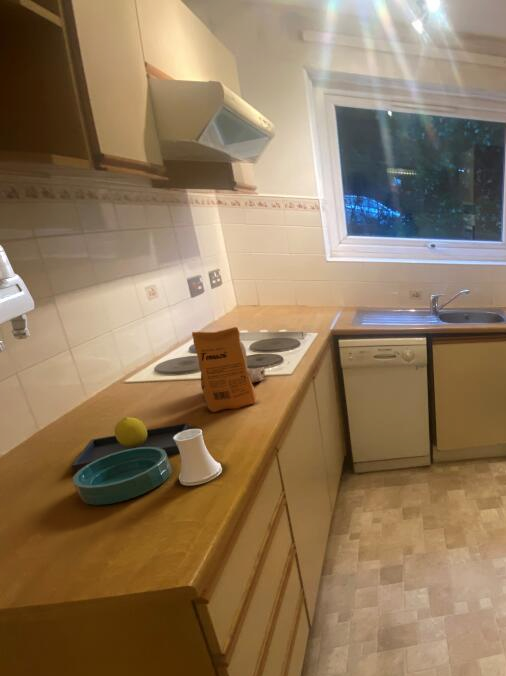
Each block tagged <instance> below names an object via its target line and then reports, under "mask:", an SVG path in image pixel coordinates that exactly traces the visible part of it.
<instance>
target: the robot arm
mask: <svg viewBox="0 0 506 676" xmlns="http://www.w3.org/2000/svg"><path fill="white" fill-rule="evenodd" d="M33 310H35V301H34V299H33V297H32V295H31V293H30V291H29V289H28V287H27V286H26V284H25V282H24V280H23V279H22V278H21V276H20V275H18V274H17V273H15V272H14V269H13V267H12V265H11V263H10V260H9V258H8V256H7V253H6V251H5V248H4V247H3V246H2V245H1V244H0V325H2V324H4V323H6V322H8V321H10V323H11V327H12V330H11V333H12V335H13V337H14V339H16V340H24V339H28V338H29V337H30V336H31V333H30V331H29V329H28V317H27V315H26V313H29V312H31V311H33ZM5 350H6V346H5V344H4V341H3V340H0V353H2V352H4V351H5Z"/></svg>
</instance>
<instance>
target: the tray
mask: <svg viewBox="0 0 506 676" xmlns="http://www.w3.org/2000/svg"><path fill="white" fill-rule="evenodd" d="M189 429H192V428H191V425H190V423H189V422H184V423H178V424H171V425H167V426H160V427H156V428H155V427H154V428H150V429H147V438H146V440H145V441H144V442H143V443H142V444H141V445H140V446H139V447H158V448H161V449H163V450H165V452H166V454H167V456H170V455H174V454H180V451H179V449H178V446H177V444H176V442H175V440H174V439H173V437H174V436H175V435H176V434H178V433H180V432H182V431H185V430H189ZM133 448H134V447H127V446H124V445H122V444H120V443H119V442H118V440H117V438H116V436H115V435H109V436H103V437H98V438H93V439H90V441H89V442H88V443H87V445H86V446H85V447H84V448H83V450H82V451H81V452H80V453H79V455H78V456H77V458H76V459H75V460H74V461H73V463H72V464H71V465H70V466H71V468H72V470H73V472H74V474H76V473H77V472H78V471H79V470H80V469H82V468H83V467H84V466H86V465H88V464H90V463H91V462H93V461H95V460H97V459H99V458H102V457H105V456H107V455H110V454H113V453H116V452H119V451H123V450H128V449H133Z"/></svg>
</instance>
